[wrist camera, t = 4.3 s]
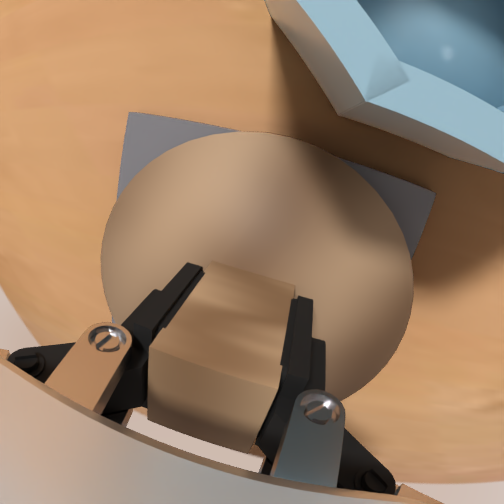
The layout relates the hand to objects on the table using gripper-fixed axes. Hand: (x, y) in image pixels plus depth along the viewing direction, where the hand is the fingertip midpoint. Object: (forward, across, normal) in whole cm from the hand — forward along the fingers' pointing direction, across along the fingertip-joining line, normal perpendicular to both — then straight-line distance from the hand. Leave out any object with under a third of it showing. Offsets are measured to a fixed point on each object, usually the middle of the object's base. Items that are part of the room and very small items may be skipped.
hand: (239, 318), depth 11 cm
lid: (+2, 0, 0) cm, 2 cm away
